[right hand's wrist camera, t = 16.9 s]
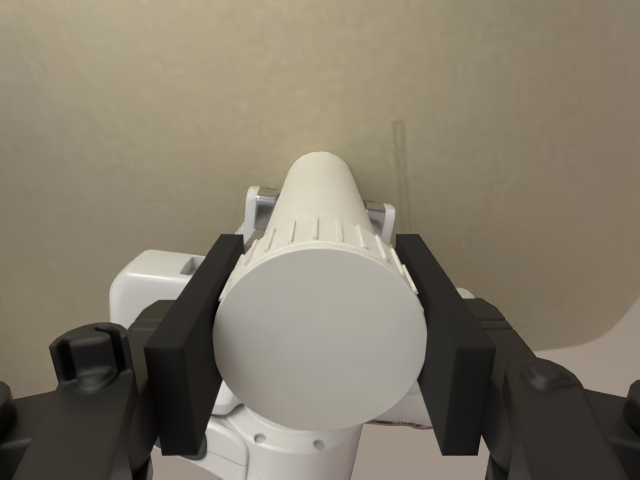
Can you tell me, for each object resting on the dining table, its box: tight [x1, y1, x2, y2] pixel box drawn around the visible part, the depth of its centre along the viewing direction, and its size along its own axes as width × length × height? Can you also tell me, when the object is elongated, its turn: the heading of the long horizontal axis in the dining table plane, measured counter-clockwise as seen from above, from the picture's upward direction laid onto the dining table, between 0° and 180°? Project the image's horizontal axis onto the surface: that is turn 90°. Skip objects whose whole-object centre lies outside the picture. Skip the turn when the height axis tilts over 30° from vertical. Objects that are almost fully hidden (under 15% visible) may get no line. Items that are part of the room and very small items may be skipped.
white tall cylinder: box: [263, 151, 376, 237], centre depth 19 cm, size 4×4×18 cm
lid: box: [213, 217, 427, 431], centre depth 11 cm, size 5×5×2 cm
